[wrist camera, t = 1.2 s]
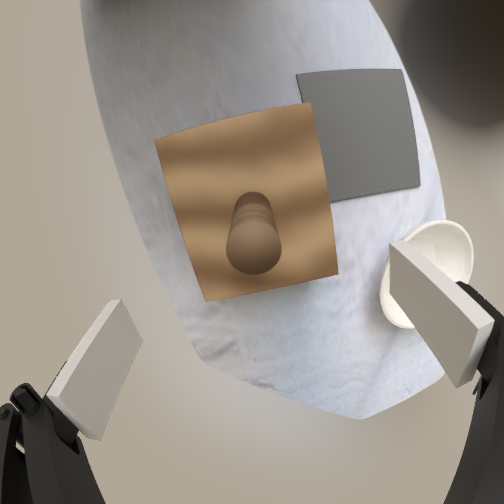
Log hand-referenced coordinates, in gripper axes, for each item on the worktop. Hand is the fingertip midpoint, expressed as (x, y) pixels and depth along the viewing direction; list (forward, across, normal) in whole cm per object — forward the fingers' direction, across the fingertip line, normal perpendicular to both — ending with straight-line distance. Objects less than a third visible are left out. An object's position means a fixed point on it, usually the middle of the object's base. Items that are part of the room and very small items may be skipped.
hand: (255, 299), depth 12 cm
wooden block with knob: (+28, 0, 0) cm, 28 cm away
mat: (+28, +18, +6) cm, 34 cm away
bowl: (+29, +25, -18) cm, 42 cm away
